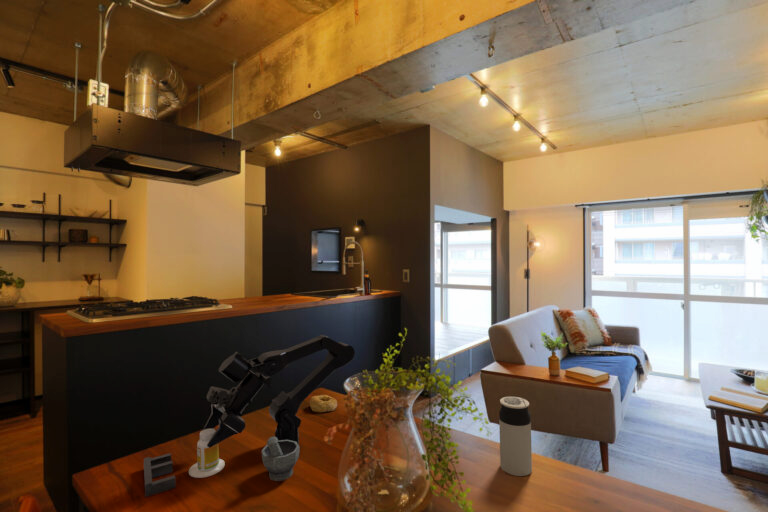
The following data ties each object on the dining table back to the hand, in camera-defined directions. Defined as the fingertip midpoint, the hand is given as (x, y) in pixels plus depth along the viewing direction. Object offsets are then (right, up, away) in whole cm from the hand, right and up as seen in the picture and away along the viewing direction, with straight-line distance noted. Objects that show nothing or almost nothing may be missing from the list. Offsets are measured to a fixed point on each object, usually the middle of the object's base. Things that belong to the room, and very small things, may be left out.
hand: (205, 439), depth 104 cm
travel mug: (+85, -6, -3) cm, 85 cm away
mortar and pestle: (+22, -8, -4) cm, 23 cm away
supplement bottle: (+1, -8, 0) cm, 8 cm away
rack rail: (-10, -8, -4) cm, 14 cm away
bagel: (+26, -8, +41) cm, 49 cm away
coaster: (0, -8, 0) cm, 8 cm away
